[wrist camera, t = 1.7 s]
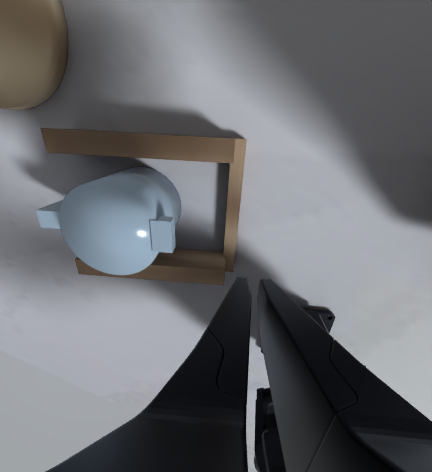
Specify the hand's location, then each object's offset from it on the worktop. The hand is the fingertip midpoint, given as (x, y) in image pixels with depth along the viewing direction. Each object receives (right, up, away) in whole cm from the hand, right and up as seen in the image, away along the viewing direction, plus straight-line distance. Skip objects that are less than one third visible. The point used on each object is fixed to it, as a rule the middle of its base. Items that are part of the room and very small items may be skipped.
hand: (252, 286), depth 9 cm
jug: (-7, +5, +9) cm, 13 cm away
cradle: (-6, +5, +9) cm, 12 cm away
